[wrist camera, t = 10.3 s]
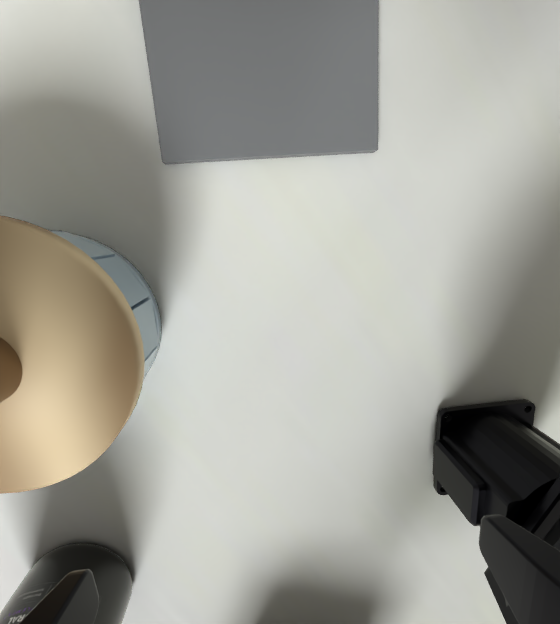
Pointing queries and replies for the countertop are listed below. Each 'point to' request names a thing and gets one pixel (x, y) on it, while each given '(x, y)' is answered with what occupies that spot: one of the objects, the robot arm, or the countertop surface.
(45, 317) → the lid
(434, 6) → the countertop surface
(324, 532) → the countertop surface
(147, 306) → the bowl
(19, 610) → the supplement bottle
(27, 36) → the countertop surface
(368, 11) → the mat
